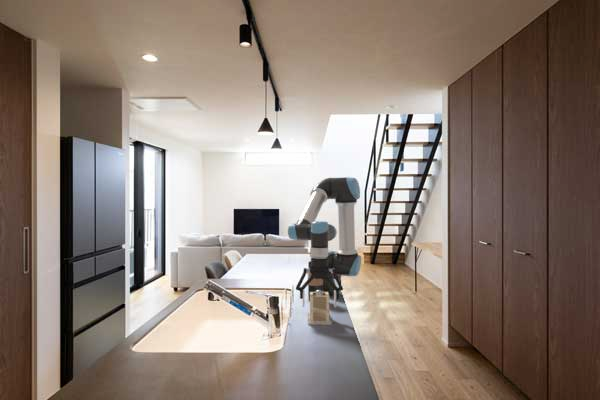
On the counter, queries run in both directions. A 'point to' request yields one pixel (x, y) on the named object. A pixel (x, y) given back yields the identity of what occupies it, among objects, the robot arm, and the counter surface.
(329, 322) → the post stand
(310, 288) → the travel mug
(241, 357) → the counter surface
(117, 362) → the counter surface
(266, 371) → the counter surface
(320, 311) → the birch sleeve
